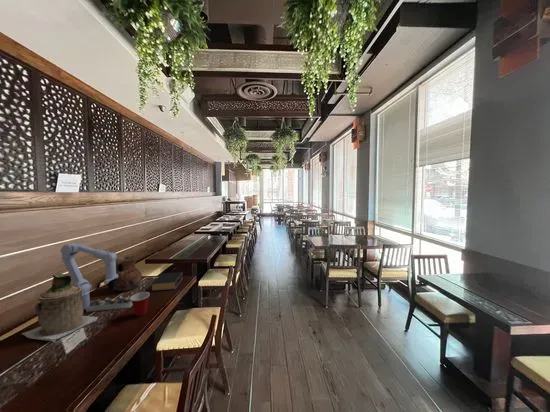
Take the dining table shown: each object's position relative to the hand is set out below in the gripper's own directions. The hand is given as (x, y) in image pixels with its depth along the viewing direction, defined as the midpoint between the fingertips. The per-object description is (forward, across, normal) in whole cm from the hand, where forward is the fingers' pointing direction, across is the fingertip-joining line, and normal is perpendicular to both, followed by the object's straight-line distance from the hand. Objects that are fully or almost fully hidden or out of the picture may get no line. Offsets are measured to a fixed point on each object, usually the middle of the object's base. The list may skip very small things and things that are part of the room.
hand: (112, 290), depth 163 cm
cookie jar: (+11, -25, +15) cm, 31 cm away
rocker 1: (+6, -4, +8) cm, 11 cm away
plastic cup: (+11, -18, -24) cm, 32 cm away
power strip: (+10, -2, 0) cm, 11 cm away
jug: (+11, +33, +4) cm, 35 cm away
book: (+11, +33, -27) cm, 44 cm away
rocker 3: (+6, -4, -8) cm, 11 cm away
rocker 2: (+6, -4, 0) cm, 7 cm away
